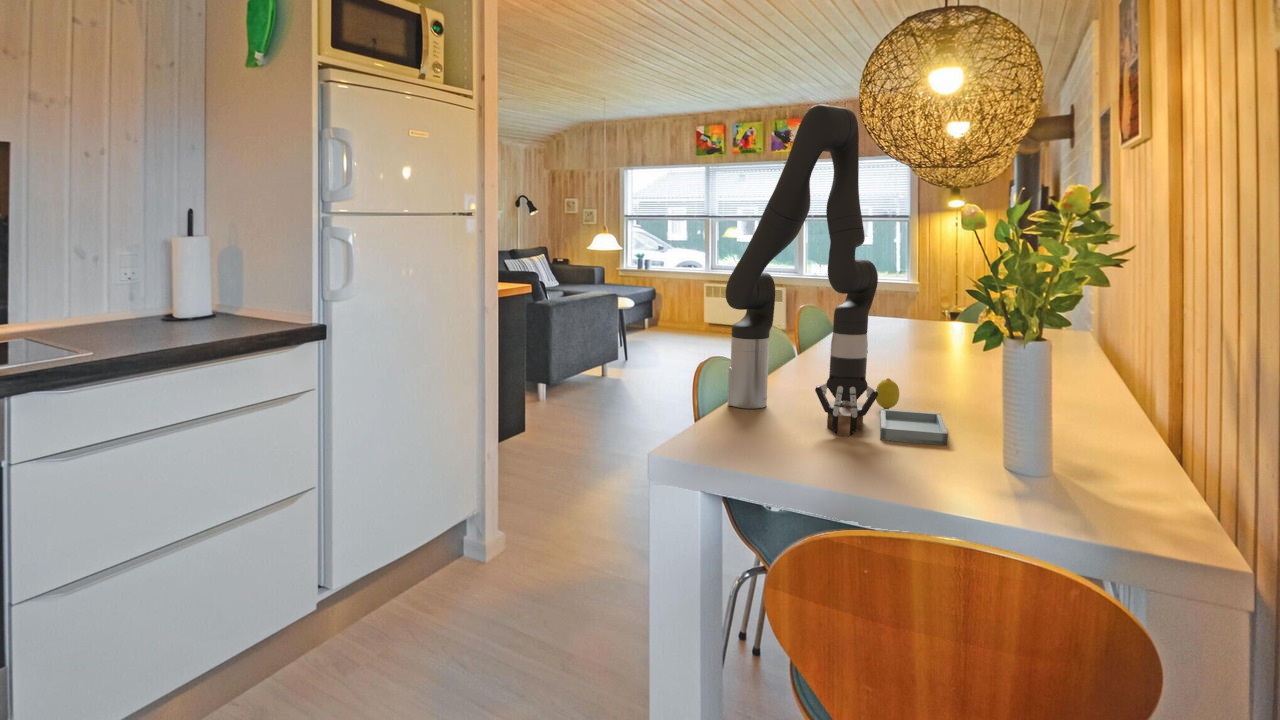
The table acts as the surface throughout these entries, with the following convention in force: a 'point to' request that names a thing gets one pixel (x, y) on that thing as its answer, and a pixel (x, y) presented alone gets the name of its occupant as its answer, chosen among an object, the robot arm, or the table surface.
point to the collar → (845, 419)
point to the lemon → (887, 393)
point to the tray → (913, 427)
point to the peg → (846, 404)
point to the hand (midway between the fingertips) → (844, 432)
